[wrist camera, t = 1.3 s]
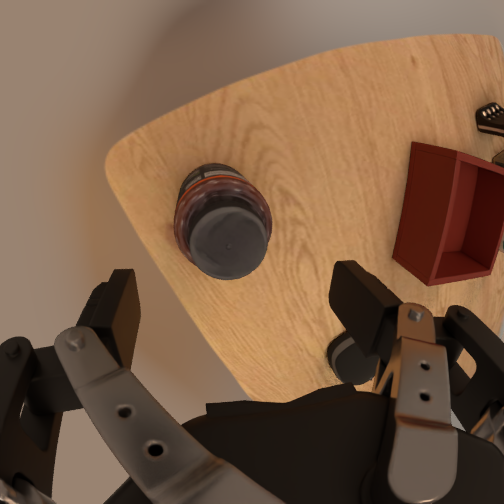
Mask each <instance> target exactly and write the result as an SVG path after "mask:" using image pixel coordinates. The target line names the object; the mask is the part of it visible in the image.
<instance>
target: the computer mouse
mask: <svg viewBox="0 0 504 504" xmlns="http://www.w3.org/2000/svg"><path fill="white" fill-rule="evenodd" d="M379 359H380V357H379V356H375V357H371V358H367V359H366V357H365V356H364V354H363V353H362V351H361V350H360V348H359V347H358V346H357V344H356V343H355V341H354V340H353V338H352V337H351V336H350V334H349V333H348V332H346V333H344V334H342V335H341V336H339V337H338V338H337V339H336V340H334V342H333V343H332V344H331V345H330V347H329V349H328V362H329V364H330V367H331V368H332V370H333V371H334V373H335V375H336V377H337V378H338V379H339V380H340V381H342V382H343V383H348V382H352V384H353V385H361V384H364V383H366V382H367V381H369V380H372V378H373V377H374V376H375V373H376V368H377V363H378V361H379Z"/></svg>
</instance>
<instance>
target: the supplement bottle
mask: <svg viewBox="0 0 504 504" xmlns="http://www.w3.org/2000/svg"><path fill="white" fill-rule="evenodd" d="M271 233H272V216H271V212H270V209H269V206H268V204H267V202H266V200H265V199H264V197H263V196H262V195H261V193H260V192H259V191H258V190H257V189H256V188H255V187H254V186H253V185H252V184H251V183H250V182H249V181H247V180H246V179H245V178H244V177H243V176H242V175H241V174H240V173H239V172H238V171H236V170H235V169H233V168H231V167H229V166H227V165H223V164H218V163H212V164H206V165H203V166H200V167H198V168H197V169H195V170H194V171H192V172H191V173H190V174H189V175H188V176H187V178H186V179H185V180H184V182H183V184H182V186H181V188H180V192H179V196H178V201H177V205H176V210H175V215H174V234H175V239H176V242H177V244H178V247H179V249H180V250H181V252H182V253H183V254H184V256H185V257H186V258H187V259H188V260H189V261H190V262H191V263H193V264H194V265H196V266H197V267H198V268H199V269H200V270H201V271H202V272H204V273H205V274H207V275H208V276H211V277H213V278H216V279H221V280H233V279H239V278H242V277H244V276H246V275H248V274H250V273H251V272H252V271H254V270H255V269H256V268H257V267H258V266H259V265H260V263H261V262H262V260H263V259H264V256H265V254H266V251H267V246H268V242H269V240H270V237H271Z"/></svg>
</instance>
